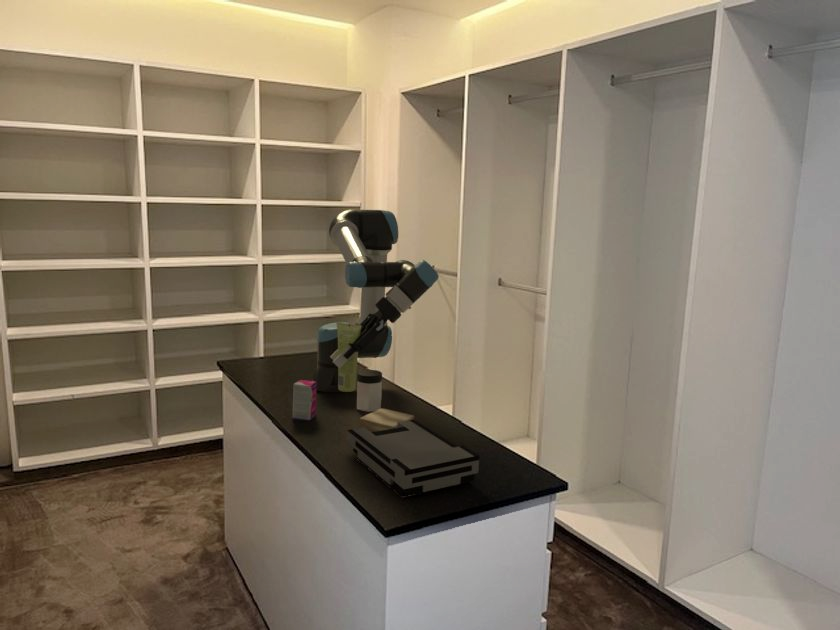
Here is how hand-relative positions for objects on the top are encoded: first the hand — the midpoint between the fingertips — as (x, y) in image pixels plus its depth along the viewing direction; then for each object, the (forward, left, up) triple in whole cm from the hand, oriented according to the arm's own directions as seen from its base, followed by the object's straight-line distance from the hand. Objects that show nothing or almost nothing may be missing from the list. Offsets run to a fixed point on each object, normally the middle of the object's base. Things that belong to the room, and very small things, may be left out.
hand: (334, 362), depth 180 cm
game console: (+7, +29, -23) cm, 38 cm away
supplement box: (-8, -17, -22) cm, 29 cm away
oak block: (-14, +9, -22) cm, 28 cm away
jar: (-28, -7, -22) cm, 36 cm away
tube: (-3, +3, -8) cm, 9 cm away
